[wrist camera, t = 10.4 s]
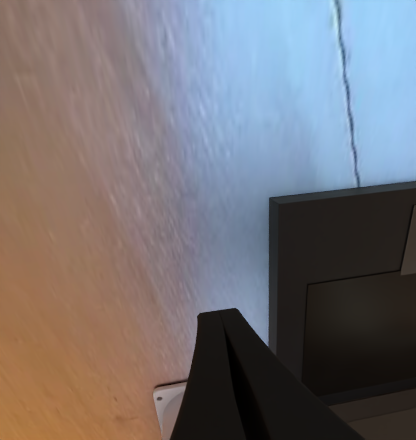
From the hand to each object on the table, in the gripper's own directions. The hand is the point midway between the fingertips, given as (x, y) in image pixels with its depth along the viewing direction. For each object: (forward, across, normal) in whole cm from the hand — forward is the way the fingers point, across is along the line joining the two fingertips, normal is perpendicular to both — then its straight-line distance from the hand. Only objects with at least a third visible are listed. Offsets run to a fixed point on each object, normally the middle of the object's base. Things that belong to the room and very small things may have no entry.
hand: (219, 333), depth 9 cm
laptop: (+10, -21, +9) cm, 25 cm away
